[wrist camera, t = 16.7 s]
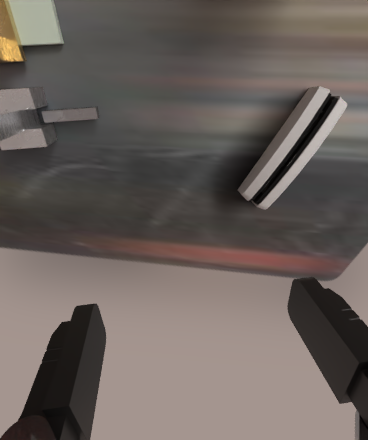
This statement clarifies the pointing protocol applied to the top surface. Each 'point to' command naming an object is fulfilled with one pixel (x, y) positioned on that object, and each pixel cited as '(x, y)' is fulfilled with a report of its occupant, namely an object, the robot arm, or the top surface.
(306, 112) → the white arched piece
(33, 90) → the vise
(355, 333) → the robot arm
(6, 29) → the square loop paddle
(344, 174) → the top surface
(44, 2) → the mat
